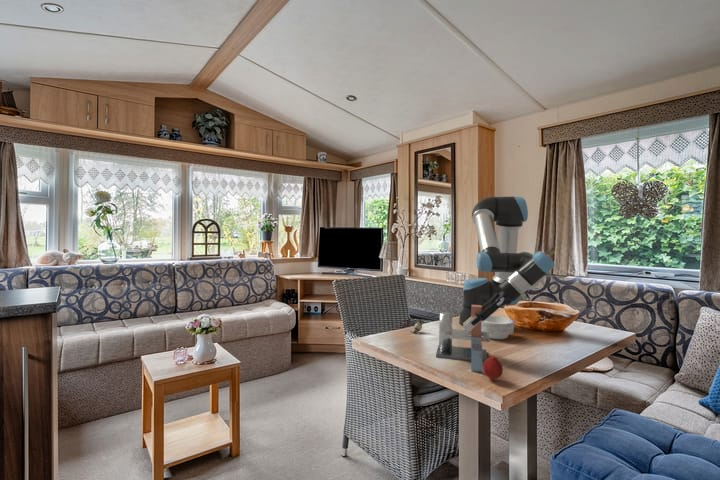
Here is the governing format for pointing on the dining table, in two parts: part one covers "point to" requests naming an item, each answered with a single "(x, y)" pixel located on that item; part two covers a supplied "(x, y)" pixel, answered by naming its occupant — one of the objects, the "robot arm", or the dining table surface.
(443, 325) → the grey stand
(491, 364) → the onion
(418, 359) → the dining table surface
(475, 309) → the pink rectangular block
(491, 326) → the paper bowls
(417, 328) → the greenish grey small figure
